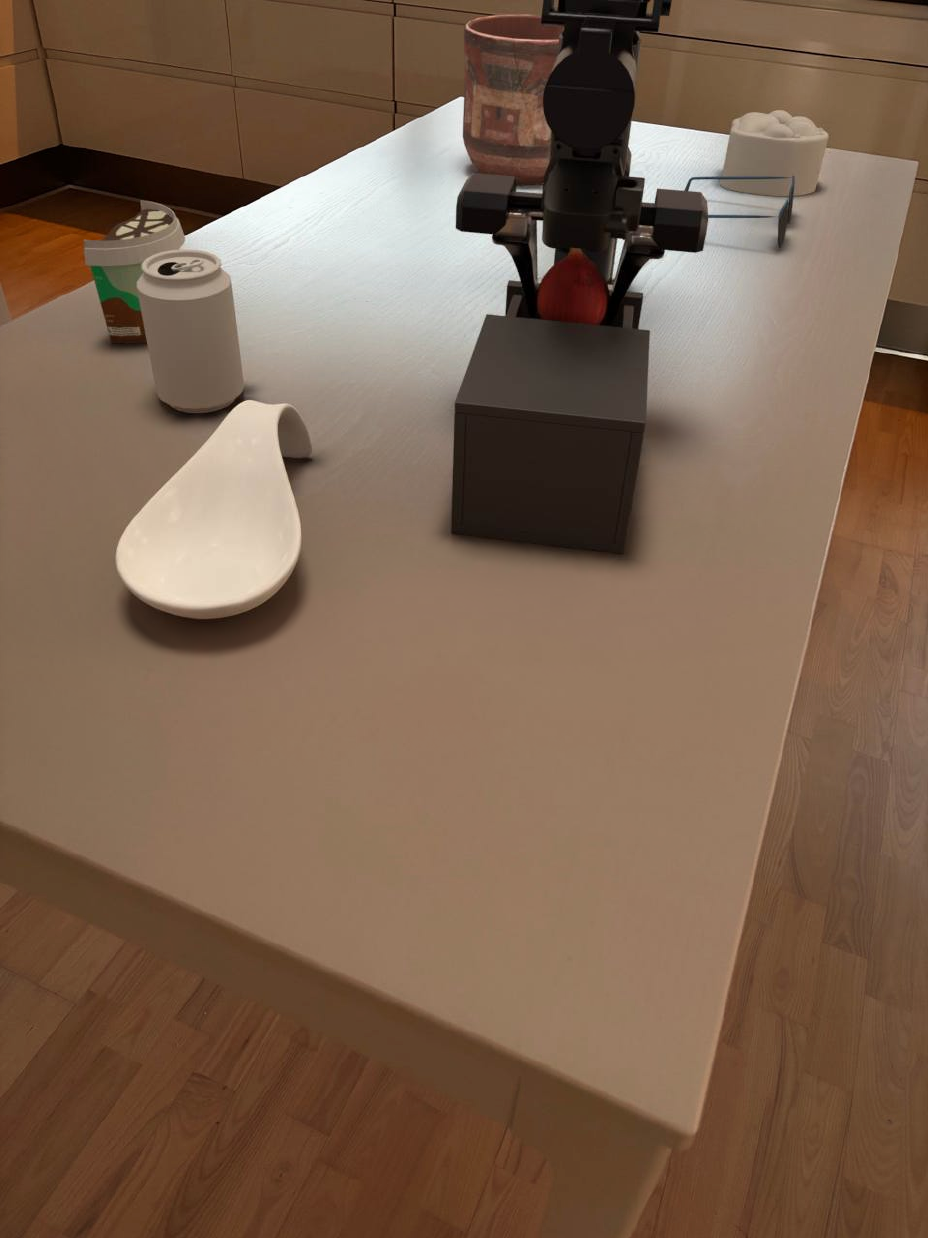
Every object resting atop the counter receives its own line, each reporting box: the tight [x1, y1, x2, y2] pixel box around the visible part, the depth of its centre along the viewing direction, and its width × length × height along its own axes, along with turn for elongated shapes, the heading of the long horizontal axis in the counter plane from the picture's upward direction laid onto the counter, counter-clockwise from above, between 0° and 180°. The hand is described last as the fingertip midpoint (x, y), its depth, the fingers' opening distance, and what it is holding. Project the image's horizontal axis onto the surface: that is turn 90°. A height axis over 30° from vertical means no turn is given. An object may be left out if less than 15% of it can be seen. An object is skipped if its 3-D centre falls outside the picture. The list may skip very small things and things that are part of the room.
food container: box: [83, 199, 186, 344], centre depth 94 cm, size 12×6×10 cm, turn 168°
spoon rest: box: [115, 399, 313, 620], centre depth 69 cm, size 24×12×7 cm, turn 174°
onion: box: [536, 248, 610, 325], centre depth 80 cm, size 6×6×8 cm
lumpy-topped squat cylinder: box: [719, 109, 829, 197], centre depth 137 cm, size 10×13×9 cm
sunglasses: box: [683, 175, 795, 249], centre depth 125 cm, size 17×15×5 cm
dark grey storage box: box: [450, 314, 651, 555], centre depth 74 cm, size 15×13×11 cm
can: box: [137, 248, 245, 414], centre depth 83 cm, size 8×8×12 cm
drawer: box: [504, 277, 644, 329], centre depth 83 cm, size 18×11×9 cm, turn 171°
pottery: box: [462, 14, 564, 186], centre depth 134 cm, size 18×18×18 cm
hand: (570, 318), depth 81 cm, fingers closed on onion, 6 cm apart
